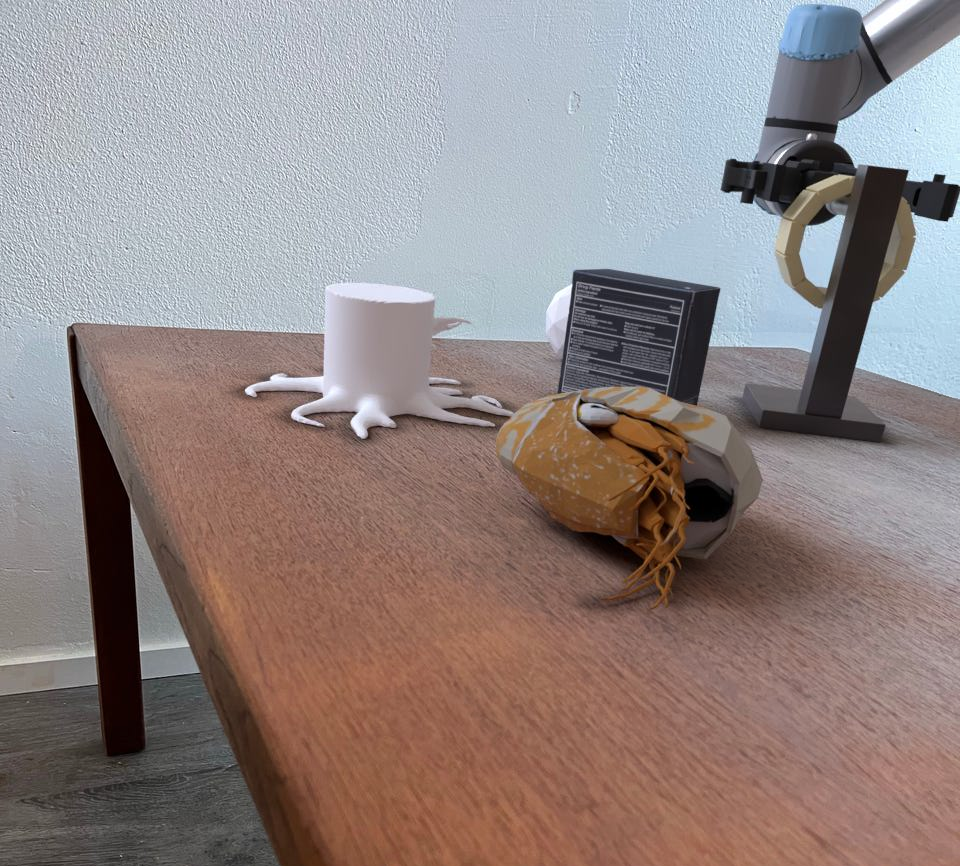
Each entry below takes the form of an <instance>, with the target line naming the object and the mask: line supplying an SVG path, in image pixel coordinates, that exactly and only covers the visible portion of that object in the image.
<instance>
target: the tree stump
mask: <svg viewBox="0 0 960 866" xmlns="http://www.w3.org/2000/svg"><path fill="white" fill-rule="evenodd" d="M324 299H325V300H324V302H325V303H324V335H323V336H324V338H323V339H324V340H323V343H324V344H323V375H322V376H312V377H311V376H309V377H288V374H286V373H276V374H273V375H271V376H270V377H269V380H267V381H260V382H256V383H253V384H251V385H249V386H248V387H246V388H245V390H244V392H245V394H246V395H247V396H249V397H250V396H251V397H253V398H257V397H258V394H257V392H258V393H259V392H267V391H268V392H273V391H281V392H282V391H283V392H284V391H290V392H292V391H298V392H299V391H300V392H311V393H312V392H313V393H319V394H322V398H319V399H317V400H314V401H311V402H307V403H305V404H303V405H300V406H298V407H296V408H295V409H293V410H292V412H291V414H290V416H291V419H293V421H297V423H302V424H306V425H311V426H316V427H319V428H320V427H321V428H325V427H326V426H325V424H323V423H321V422H318V421H316V420H311V419H309V418H306V417H304V416H307V415H310V414H317V413H339V412H340V413H342V412H348V413H352V412H354V413H356V414H355V415H354V416H353V417H352V418H351V420H350V426H351V429H353V431H354V432H355V434H356V436H357V437H359V438H361V439H363V440H365V439H367V438H368V437H369V432H368V429H369V428H371V427H377V426H380V427H383V428H391V429H392V428H394V429H395V428H397V424H396V422H395V421H394V420H393V419H391V417H394V416H400V415H410V416H417V417H423V418H429V419H434V420H438V421H441V422H449V423H456V424H466V425H472V426H479V427H496V424H495V423H494V422H491V421H488V420H484V419H479V418H476V417H470V416H469V417H468V416H463V415H460V414H457V413H453V412H450V411H447V410H444V409H454V408H468V409H472V410H476V411H480V412H484V413H488V414H491V415H497V416H504V417H505V416H506V417H509V418H510V417H511V416H512V415H513V414H514V413H515V412H513V411H510V410H509V409H505V408H503V405H502V404H501V403H500V402H499V401H498V400H497V399H496V398H493V397H490V396H487V395H482V394H481V395H473V396H472V397H471V398H469V397H462V396H461V397H460V396H457V395H463V392H462V391H461V390H459V389H455V388H449V387H448V388H446V387H437V386H430V385H434V384H436V385H438V384H450V385H451V384H452V385H459V386H460V385H462V383H461V382H460V381H458V380H456V379H451V378H441V377H430V374H431V362H432V348H433V349H435V350H437V348H436V345H435V344H434V343H433V337H435V336H437V335H439V334H440V333H442V332H444V331H446V332H447V331H450V330H452V329H455V328H456V327H458V326H460V325H462V323H466V324H470V325H472V323H471V321H469V320H465V317H461V318H457V317H447V316H436V317H435V306H436V296H435V295H434V293H433V294H432V293H431V292H428V291H427V292H426V291H422V290H421V289H416V288H411V287H406V286H399V285H391V284H387V283H386V284H381V283H369V282H340V283H331V284H329V285H328V286H327V285H326V286H325V298H324ZM453 395H454V396H453ZM491 403H492V404H491ZM494 404H495V405H496V406H495V405H494Z"/></svg>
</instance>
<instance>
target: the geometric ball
mask: <svg viewBox="0 0 960 866" xmlns="http://www.w3.org/2000/svg"><path fill="white" fill-rule="evenodd" d="M571 290H572V283H571V284H570V285H567V286H566V287H565V288H562V289H561V290H559V291H557V292H555V294H554V296H553V298H552V300H551V302H550V304H549V306H548V308H547V310H546V311H545V312H546V313H545V334H544V335H545V337H546V338H547V340H548V342H549V344H550V346H551V347H552V349H553V351H554V352H555V354H556V355H557V356H559V357H561V358H563V350H564V342H565V335H566V327H567V320H568V314H569V307H570V299H571Z"/></svg>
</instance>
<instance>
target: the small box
mask: <svg viewBox="0 0 960 866" xmlns="http://www.w3.org/2000/svg"><path fill="white" fill-rule="evenodd" d="M571 284H572V290H571V299H570V307H569V314H568V320H567V327H566V335H565V342H564V350H563V357H561V358H562V359H561V364H560V373H559V378H558V386H557V391H556V394H561V393H567V392H573V391H579V390H586V389H592V388H602V387H647V388H651V389H653V390H655V391H657V392H659V393H662V394H664V395H666V396H668V397H670V398H672V399H675V400H677V401H680V402H683V403H687V404H691V405H695V406H698V402H699V397H700V393H701V388H702V382H703V377H704V373H705V367H706V362H707V358H708V354H709V353H708V352H709V349H710V348H709V347H710V342H711V337H712V334H713V328H714V322H715V318H716V312H717V309H718V308H717V307H718V303H719V297H720V293H721V289H722V288H721V287H718V286H714V285H706V284H703V283H702V284H700V283H695V282H689V281H683V280H677V279H672V278H665V277H660V276H654V275H648V274H641V273H636V272H629V271H623V270H617V269H612V268H591V269H589V268H588V269H574V270H573V272H572V279H571Z"/></svg>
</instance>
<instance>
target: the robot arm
mask: <svg viewBox="0 0 960 866" xmlns="http://www.w3.org/2000/svg"><path fill="white" fill-rule="evenodd" d="M786 17H787V18H786V21H785V25H784V28H783V32H782V36H781V39H780V40H779V41H778V42H779V43H778V55H777V59H776V65H775V70H774V75H773V80H772V85H771V90H770V95H769V100H768V104H767V109H766V114H765V119H764V125H763V126H762V131H761V136H760V141H759V146H758V151H757V153H756V154H755V155H754V157H753V159H752V161H742V160H737V158H729V159H726V160H725V164H724V169H723V175H722V180H721V185H720V191H721V192H722V193H724V194H725V193H726V194H731V193H741V195H740V201H739V203H741V204H748V205H753V204H754V203H755V205H756V206H757V207H758V208H760V209H761V210H762V211H763V212H766V213H767V214H768V215H773V216H777V217H779V218H780V219H781V218H785V217H784V216H783V214H784V213H785V212H786V210H787V209H788V208H789V207H790V205H791V204H792V203H793V202H794V201H795V199H796V198H797V197H798V196H799V195H800V193H801V192H802V191H803V190H806V188H807V187H809V186H811V185H813V184H816V183H818V182H820V181H823V180H825V179H827V178H829V177H832V176H834V175H847V176H856V172H857V168H858V167H855V163H854V162H853V159H852V157H851V155H850V154H849V152H848V151H847V150H846V149H845V148H844V147H843V146H841V145H840V144H839V143H836V141H835V140H836V137H837V131H838V127H839V126H838V125H839V122H842V121H844V120H846V119H848V118H850V117H852V116H854V115H855V114H856V113H857V112H858V111H860V110H861V109H862V108H863V106H864V105H865V104H866V103H867V102H868V100H869V99H870V98H872V97H873V96H875V95H876V94H878V93H879V92H880V91H882V90H883V89H885V88H887V86H888V85H890V84H891V83H893V82H894V81H895V80H897V79H899V78H900V77H901V76H902V75H904V74H905V73H907V72H908V71H910V70H911V69H913V68H915V67H916V66H918V64H920V63H921V62H923V61H924V60H926V59H927V58H928V57H930V56H932V55H933V54H934V53H936V52H937V51H939V50H940V49H942V48H943V47H944V46H946V45H947V44H949V43H950V42H952V41H953V40H955V39H956V38H957V37H959V36H960V0H884V1H882V2H881V3H880V4H879V5H877V6H875V7H874V8H873V9H872V10H870V11H869V12H868V13H867V14H865V15H863V16H862V14H861V12H860V11H858V10H857V9H855V8H851V7H848V6H843V5H836V4H825V3H824V4H822V3H807V4H806V3H805V4H799V5H796V6H794V7H793V8H791V10H790V11H789V12H788V14H787V16H786ZM946 176H947V175H946V174H940V173H939V174H938V173H934V175H933V177H932V181H931V180H923V181H917V180H916V181H915V180H910V179H909V180H908V179H906V183H905V187H904V190H903V194H902V197H903V198H904V199H905V200H906V201H907V204H909V205H910V210H911V213H914V214H913V216H917V217H921V218H925V219H929V220H932V221H933V220H934V221H938V222H947V223H948V222H949V220H950V219H951V218H954V214H955V211H956V208H957V205H958V200H959V198H960V185H959V184H957V183H948V182H947V183H946V182H945V180H946ZM835 217H837V215H835V214H833V213H831V212H830V211H829V210H828V209H827V207H826V205H825V204H824V206H823V207H822V208H821V209H820V210H819V212H818V213H817V214H816V215H815V216H814V217H813V219H812V220H811V221H810V222H809V223H808V225H807V226H806V227H811V226H812V227H813V226H818V225H822V224H825V223H827V222H829V221H831V220H832V219H834V218H835Z"/></svg>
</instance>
